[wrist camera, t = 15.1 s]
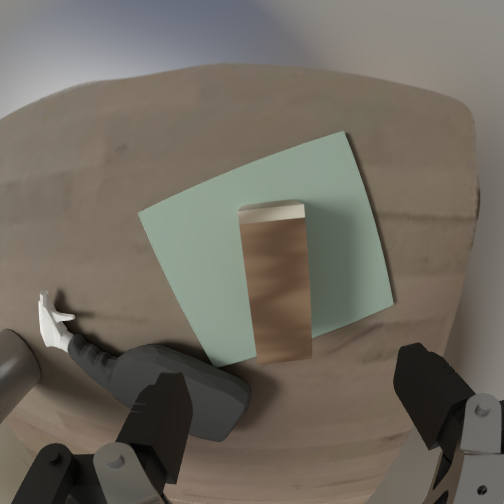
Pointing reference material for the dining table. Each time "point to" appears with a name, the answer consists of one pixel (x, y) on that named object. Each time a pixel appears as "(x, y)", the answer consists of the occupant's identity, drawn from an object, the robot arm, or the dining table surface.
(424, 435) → the robot arm
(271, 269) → the walnut block
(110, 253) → the dining table surface
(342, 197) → the rubber mat
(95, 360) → the spray bottle
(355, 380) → the dining table surface
